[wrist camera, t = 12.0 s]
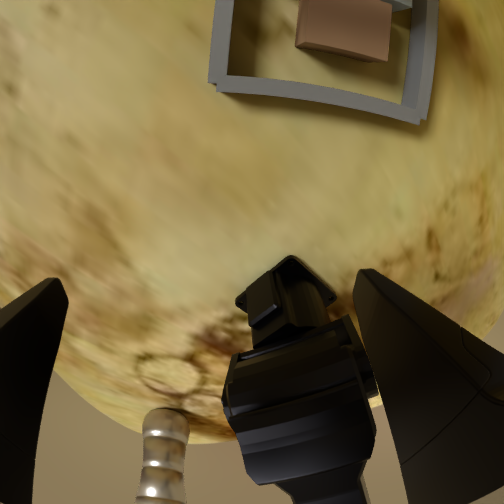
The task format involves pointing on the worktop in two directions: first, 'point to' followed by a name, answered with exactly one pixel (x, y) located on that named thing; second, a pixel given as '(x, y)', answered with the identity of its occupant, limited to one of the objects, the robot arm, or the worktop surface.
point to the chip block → (345, 28)
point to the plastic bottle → (163, 458)
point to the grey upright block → (399, 4)
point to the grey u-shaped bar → (409, 110)
